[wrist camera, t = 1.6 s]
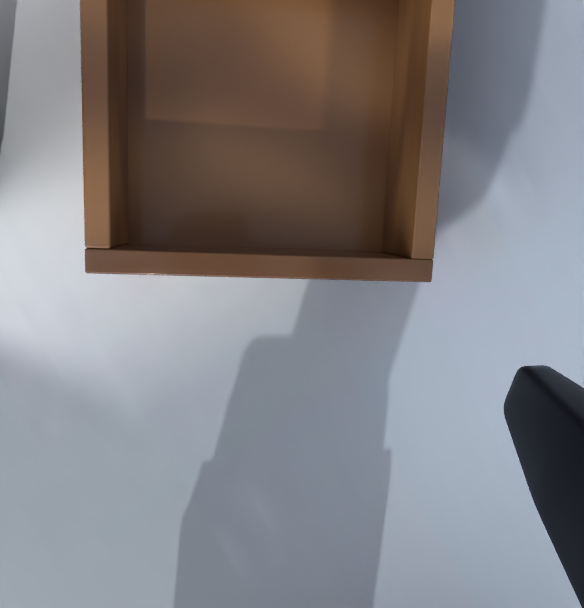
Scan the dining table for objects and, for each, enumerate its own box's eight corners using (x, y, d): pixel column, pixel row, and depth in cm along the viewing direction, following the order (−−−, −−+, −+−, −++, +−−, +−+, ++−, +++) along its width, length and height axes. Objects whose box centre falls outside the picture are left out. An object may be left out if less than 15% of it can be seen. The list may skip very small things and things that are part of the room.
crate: (394, 270, 23) (431, 282, 19) (110, 262, 21) (84, 273, 17) (415, -27, 21) (462, -85, 17) (106, -61, 19) (76, -134, 15)
